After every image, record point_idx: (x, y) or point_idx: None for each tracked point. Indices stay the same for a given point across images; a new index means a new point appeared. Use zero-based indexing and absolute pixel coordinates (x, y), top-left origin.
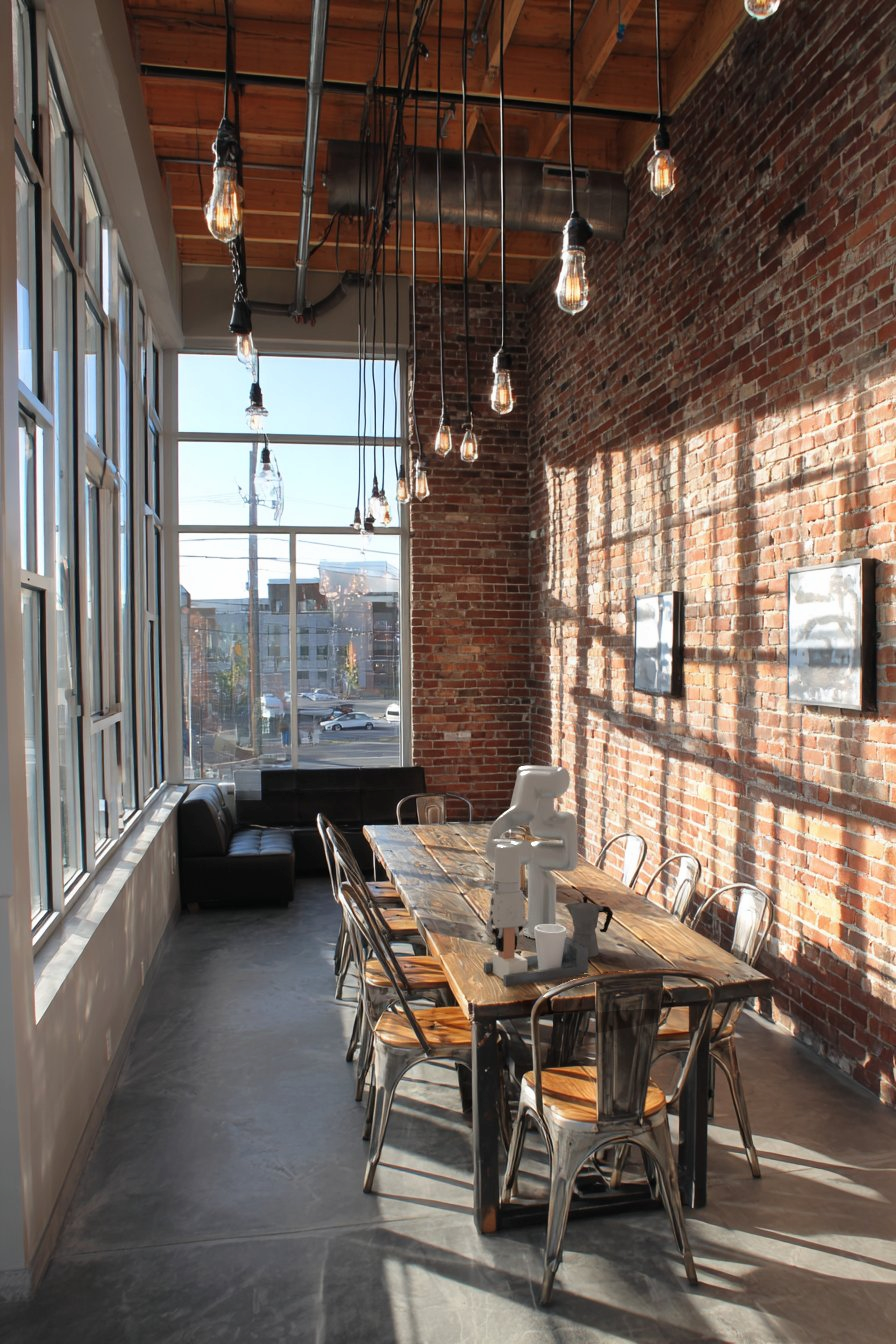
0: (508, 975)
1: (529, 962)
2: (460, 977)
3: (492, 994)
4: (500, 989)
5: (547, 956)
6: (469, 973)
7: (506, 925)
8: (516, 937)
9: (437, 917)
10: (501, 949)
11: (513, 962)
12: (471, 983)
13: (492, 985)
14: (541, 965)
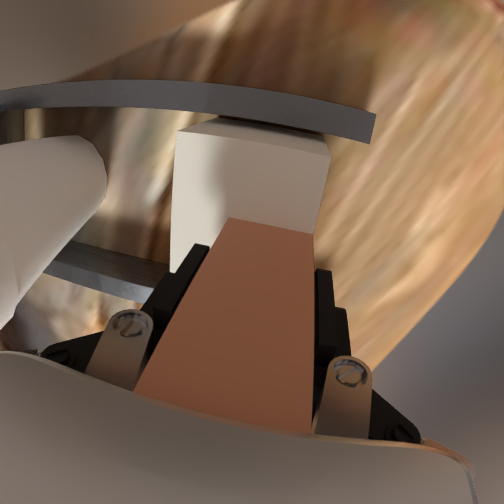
0: (349, 121)
1: (107, 263)
2: (418, 315)
3: (470, 85)
4: (404, 106)
5: (43, 162)
6: (361, 330)
7: (314, 466)
8: (157, 300)
9: None
10: (331, 280)
11: (294, 147)
12: (443, 244)
13: (397, 170)
14: (88, 181)
